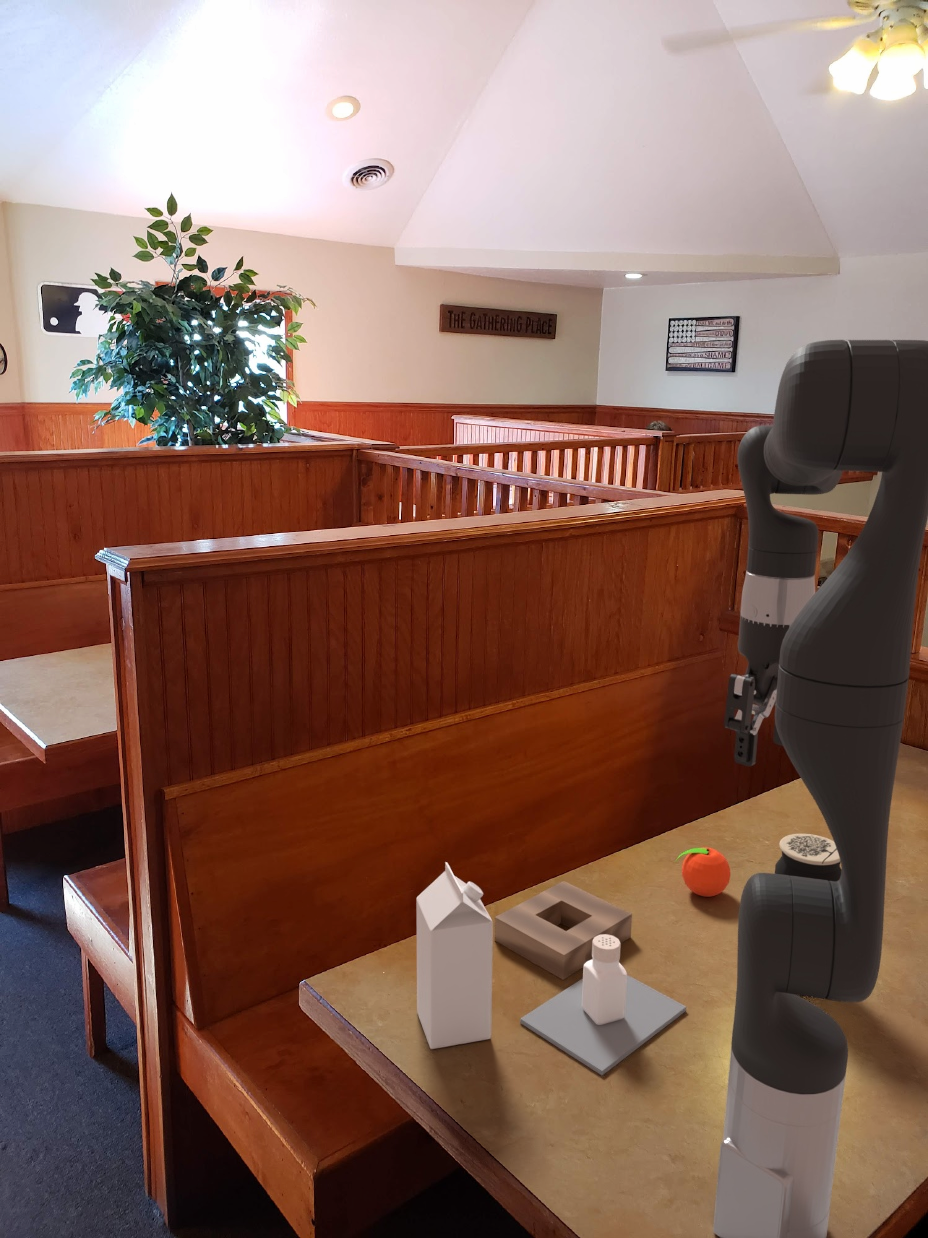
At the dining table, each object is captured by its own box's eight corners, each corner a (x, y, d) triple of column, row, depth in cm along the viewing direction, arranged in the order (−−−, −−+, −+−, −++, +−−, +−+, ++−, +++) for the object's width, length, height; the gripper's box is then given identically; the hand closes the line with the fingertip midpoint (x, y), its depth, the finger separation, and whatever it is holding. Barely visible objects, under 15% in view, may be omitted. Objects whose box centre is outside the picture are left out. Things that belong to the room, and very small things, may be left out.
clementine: (673, 902, 137) (676, 857, 136) (672, 878, 144) (674, 835, 142) (730, 908, 136) (734, 862, 134) (726, 884, 143) (730, 840, 141)
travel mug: (752, 975, 120) (764, 844, 116) (787, 952, 125) (800, 826, 121) (810, 1006, 115) (824, 869, 110) (844, 980, 120) (859, 849, 115)
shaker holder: (563, 980, 119) (564, 955, 118) (494, 940, 128) (494, 917, 127) (630, 937, 129) (632, 913, 128) (562, 903, 137) (563, 881, 136)
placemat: (601, 1076, 103) (602, 1071, 102) (520, 1023, 111) (520, 1018, 111) (686, 1011, 113) (686, 1006, 113) (605, 967, 122) (605, 963, 122)
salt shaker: (626, 1020, 111) (630, 947, 109) (597, 1028, 109) (600, 955, 107) (608, 1000, 114) (612, 929, 112) (579, 1008, 113) (582, 936, 111)
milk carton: (430, 1051, 106) (430, 897, 102) (416, 1012, 113) (415, 866, 108) (491, 1040, 108) (494, 888, 104) (474, 1002, 115) (475, 858, 110)
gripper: (775, 631, 96) (762, 781, 100) (840, 609, 105) (826, 747, 109) (710, 618, 101) (700, 761, 105) (777, 598, 111) (766, 730, 114)
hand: (764, 754), depth 107 cm, fingers open, 8 cm apart
